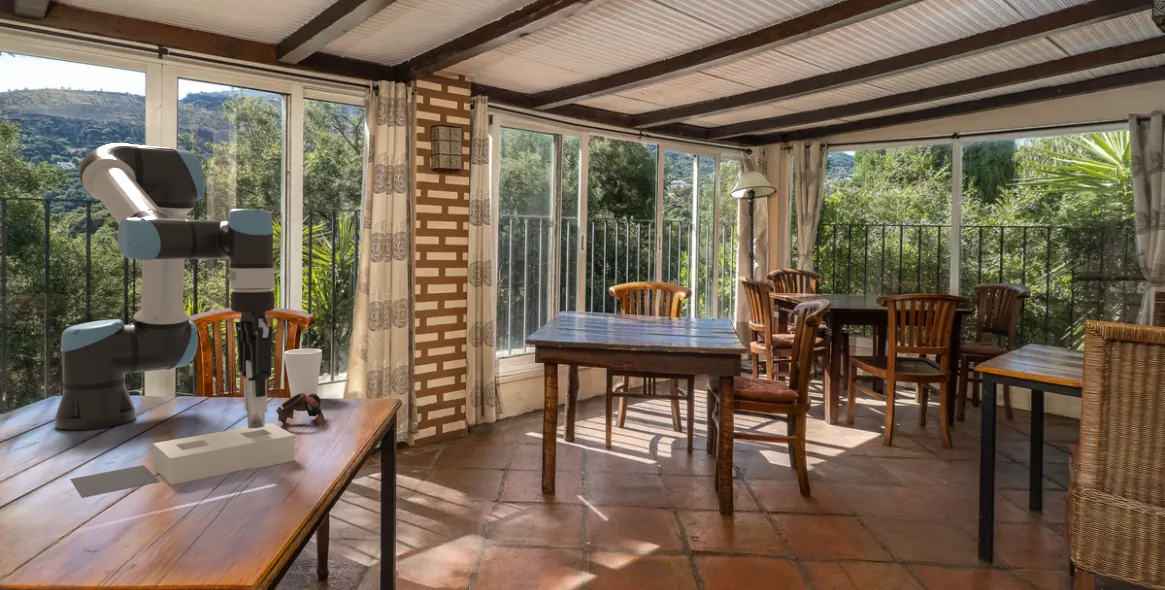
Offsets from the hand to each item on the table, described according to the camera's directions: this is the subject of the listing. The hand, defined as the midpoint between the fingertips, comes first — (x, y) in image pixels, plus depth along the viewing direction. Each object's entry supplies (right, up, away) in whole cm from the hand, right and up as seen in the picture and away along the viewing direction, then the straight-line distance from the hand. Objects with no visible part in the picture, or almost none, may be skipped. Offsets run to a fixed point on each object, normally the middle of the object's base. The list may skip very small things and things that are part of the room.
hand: (255, 410), depth 130 cm
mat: (-18, -10, -13) cm, 25 cm away
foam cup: (-12, -6, +52) cm, 54 cm away
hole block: (-4, -10, -3) cm, 11 cm away
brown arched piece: (-2, -8, +27) cm, 29 cm away
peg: (0, -3, 0) cm, 3 cm away
